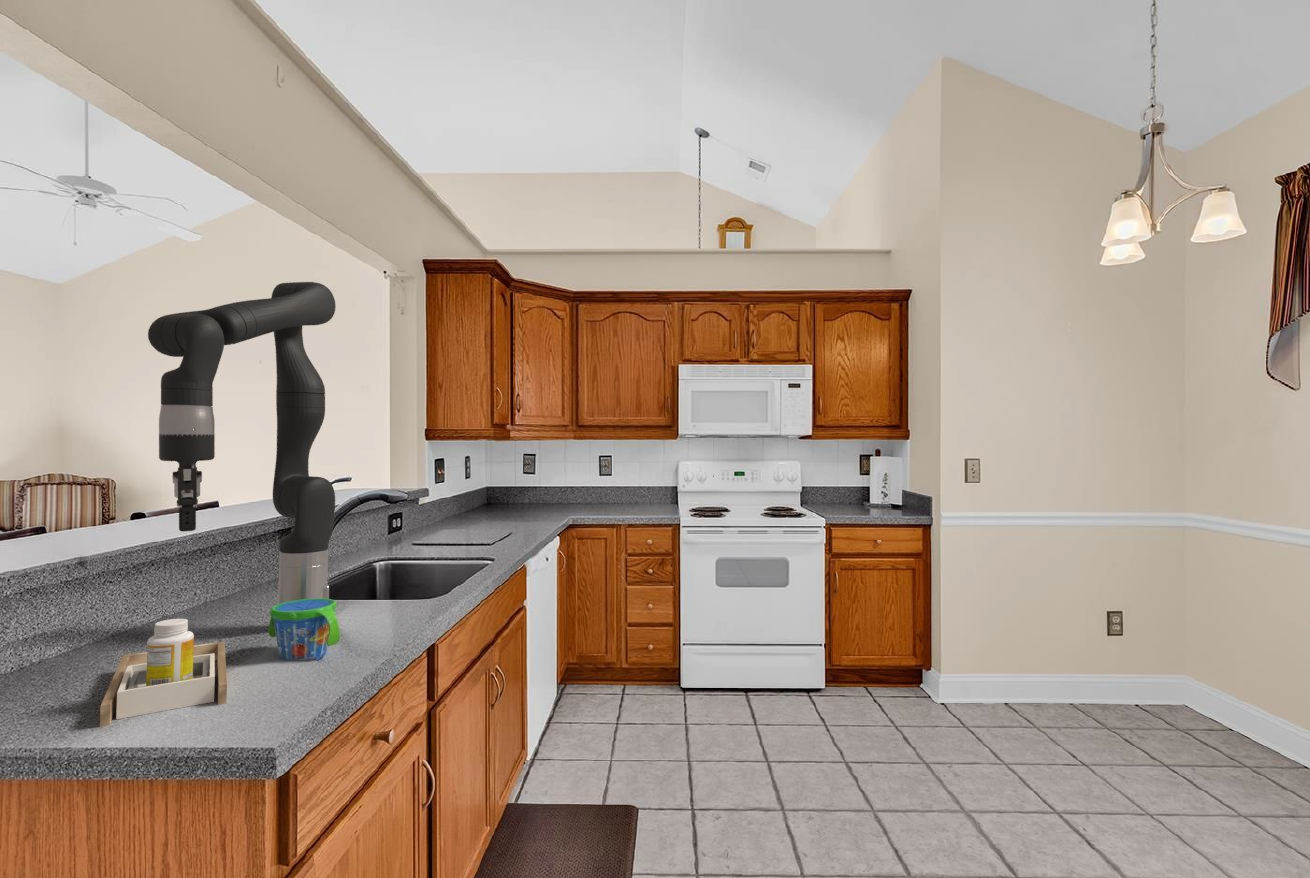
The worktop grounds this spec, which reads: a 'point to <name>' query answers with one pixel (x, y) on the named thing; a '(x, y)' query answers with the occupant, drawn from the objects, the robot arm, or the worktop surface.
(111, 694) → the bay
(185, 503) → the robot arm
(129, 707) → the box
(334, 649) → the worktop surface
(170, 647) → the supplement bottle
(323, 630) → the snack cup
